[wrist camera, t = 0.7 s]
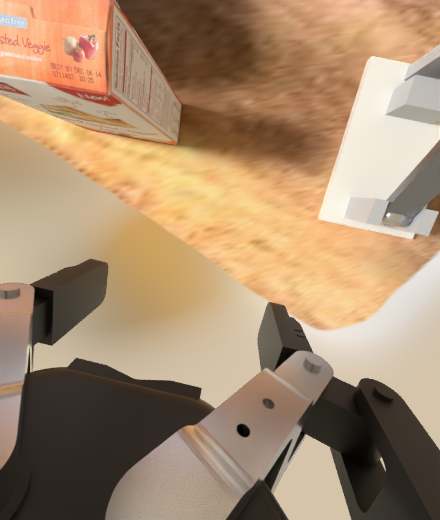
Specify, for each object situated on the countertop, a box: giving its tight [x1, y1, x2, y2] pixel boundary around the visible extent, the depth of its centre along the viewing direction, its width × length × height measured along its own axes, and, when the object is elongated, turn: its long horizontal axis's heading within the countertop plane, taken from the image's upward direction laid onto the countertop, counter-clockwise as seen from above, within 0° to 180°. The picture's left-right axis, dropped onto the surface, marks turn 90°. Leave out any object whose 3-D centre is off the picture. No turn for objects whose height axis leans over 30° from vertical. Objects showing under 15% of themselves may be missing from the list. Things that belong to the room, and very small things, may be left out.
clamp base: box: [318, 44, 440, 239], centre depth 31 cm, size 21×14×9 cm, turn 168°
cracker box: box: [0, 0, 182, 145], centre depth 26 cm, size 14×6×21 cm, turn 80°
